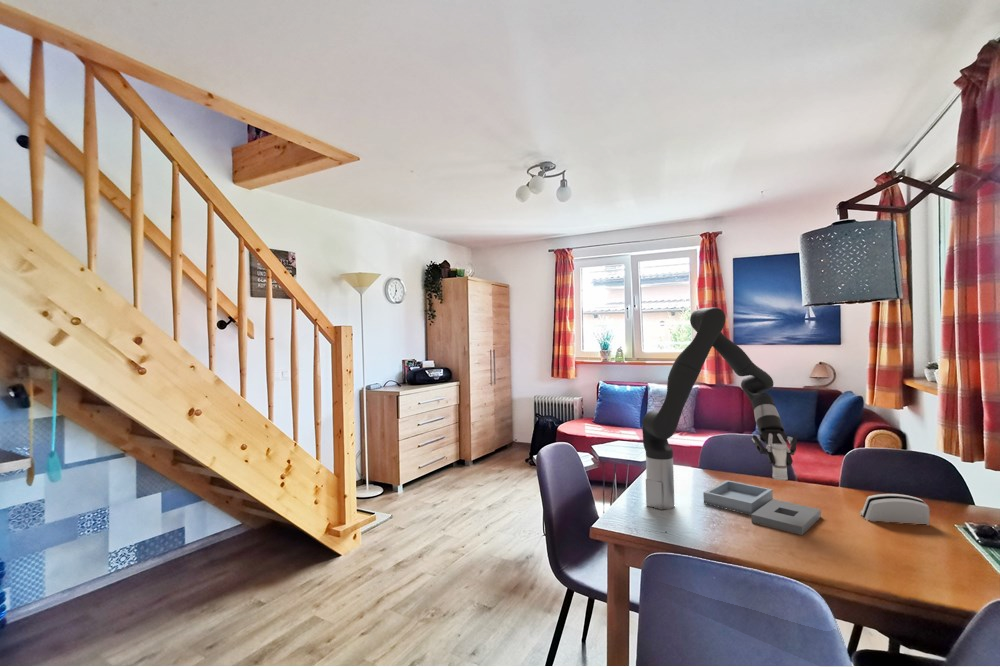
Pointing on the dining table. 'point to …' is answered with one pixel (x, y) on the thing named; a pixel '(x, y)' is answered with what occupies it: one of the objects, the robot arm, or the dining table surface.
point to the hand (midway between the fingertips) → (781, 464)
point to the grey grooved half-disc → (896, 509)
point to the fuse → (780, 461)
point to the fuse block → (786, 516)
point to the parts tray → (738, 496)
